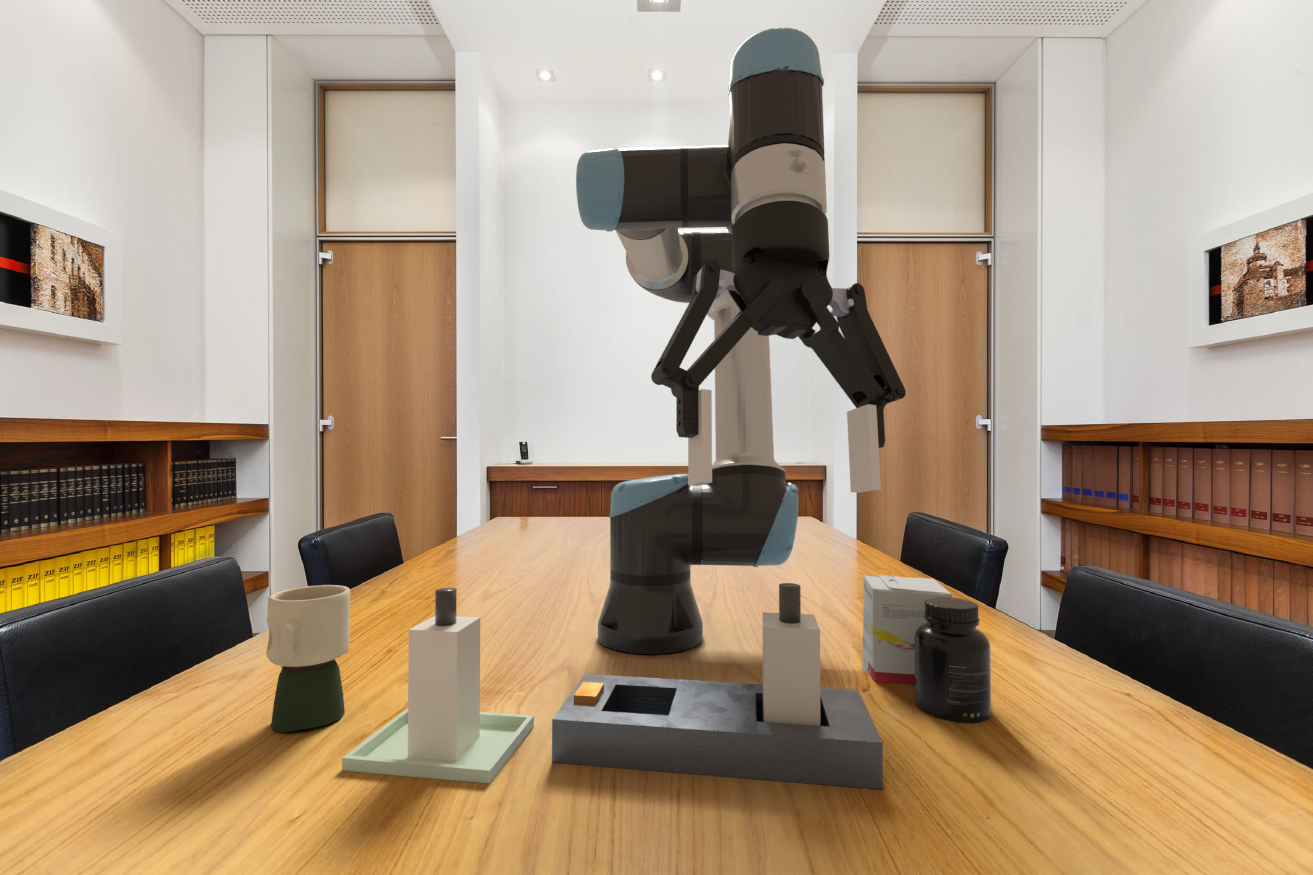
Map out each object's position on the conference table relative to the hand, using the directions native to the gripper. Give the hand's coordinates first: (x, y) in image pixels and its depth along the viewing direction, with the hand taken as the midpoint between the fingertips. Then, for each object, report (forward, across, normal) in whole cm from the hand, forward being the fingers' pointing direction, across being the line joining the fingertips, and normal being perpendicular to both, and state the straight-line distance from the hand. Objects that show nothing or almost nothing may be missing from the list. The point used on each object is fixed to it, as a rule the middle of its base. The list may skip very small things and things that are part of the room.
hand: (786, 488), depth 44 cm
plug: (+22, -23, +22) cm, 39 cm away
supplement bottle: (+22, +25, +13) cm, 35 cm away
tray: (+23, -23, +22) cm, 39 cm away
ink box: (+20, +28, +23) cm, 41 cm away
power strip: (+23, 0, +13) cm, 26 cm away
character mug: (+22, -36, +31) cm, 53 cm away
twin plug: (+21, +5, +10) cm, 24 cm away
